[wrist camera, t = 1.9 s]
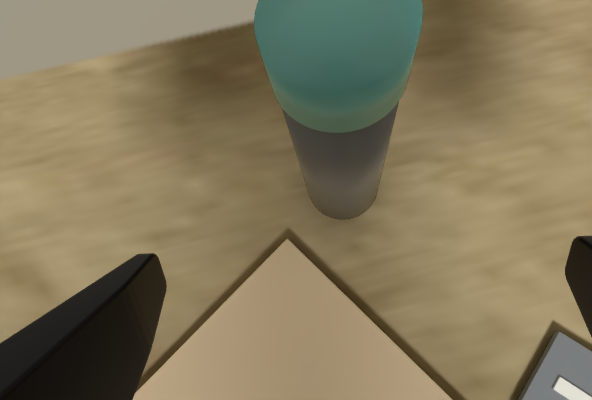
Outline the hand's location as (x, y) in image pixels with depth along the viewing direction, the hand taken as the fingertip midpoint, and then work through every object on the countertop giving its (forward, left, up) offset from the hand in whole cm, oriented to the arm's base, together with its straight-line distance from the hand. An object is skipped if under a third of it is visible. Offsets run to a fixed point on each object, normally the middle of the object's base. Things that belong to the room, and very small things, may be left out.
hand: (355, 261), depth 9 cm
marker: (+4, -4, -12) cm, 13 cm away
